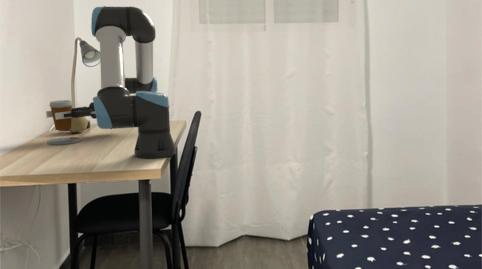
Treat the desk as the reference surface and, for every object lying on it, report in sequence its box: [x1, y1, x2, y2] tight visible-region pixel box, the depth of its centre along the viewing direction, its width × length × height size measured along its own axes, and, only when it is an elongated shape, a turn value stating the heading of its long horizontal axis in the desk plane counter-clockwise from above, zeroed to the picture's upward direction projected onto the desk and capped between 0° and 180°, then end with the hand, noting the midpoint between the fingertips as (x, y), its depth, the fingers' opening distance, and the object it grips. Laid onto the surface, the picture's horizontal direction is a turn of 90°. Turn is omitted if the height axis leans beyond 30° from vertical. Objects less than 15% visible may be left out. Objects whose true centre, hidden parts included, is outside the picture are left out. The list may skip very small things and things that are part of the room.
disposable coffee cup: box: [49, 99, 73, 131], centre depth 202 cm, size 10×10×12 cm
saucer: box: [46, 136, 82, 146], centre depth 203 cm, size 14×14×1 cm
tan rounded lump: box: [68, 116, 89, 134], centre depth 227 cm, size 10×12×11 cm
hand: (51, 115), depth 198 cm, fingers closed on disposable coffee cup, 8 cm apart
